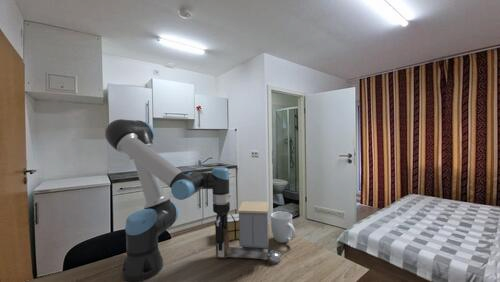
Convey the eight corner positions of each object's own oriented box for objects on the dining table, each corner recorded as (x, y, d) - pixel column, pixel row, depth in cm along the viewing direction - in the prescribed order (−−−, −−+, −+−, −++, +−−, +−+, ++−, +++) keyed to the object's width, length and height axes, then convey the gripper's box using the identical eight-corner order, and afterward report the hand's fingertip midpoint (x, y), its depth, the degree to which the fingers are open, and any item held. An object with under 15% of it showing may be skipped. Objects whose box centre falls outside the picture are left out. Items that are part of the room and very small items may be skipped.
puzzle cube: (222, 233, 120) (222, 215, 120) (239, 230, 123) (239, 213, 123) (226, 241, 111) (225, 222, 110) (244, 238, 114) (244, 219, 113)
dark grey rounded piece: (267, 263, 91) (267, 257, 91) (267, 256, 96) (267, 250, 96) (280, 264, 90) (280, 257, 90) (279, 257, 96) (279, 250, 96)
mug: (302, 244, 107) (302, 218, 106) (286, 251, 101) (286, 223, 100) (282, 232, 119) (282, 209, 119) (266, 238, 113) (266, 214, 113)
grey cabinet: (239, 262, 92) (238, 210, 91) (243, 247, 104) (242, 201, 104) (268, 264, 90) (267, 211, 90) (269, 248, 103) (268, 202, 102)
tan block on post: (216, 257, 95) (215, 232, 94) (218, 252, 99) (217, 228, 98) (267, 259, 92) (266, 234, 91) (267, 254, 95) (267, 230, 95)
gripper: (224, 209, 87) (226, 265, 87) (233, 196, 103) (234, 244, 104) (206, 208, 88) (208, 264, 88) (218, 196, 104) (219, 243, 105)
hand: (222, 253), depth 96 cm, fingers closed on tan block on post, 4 cm apart
